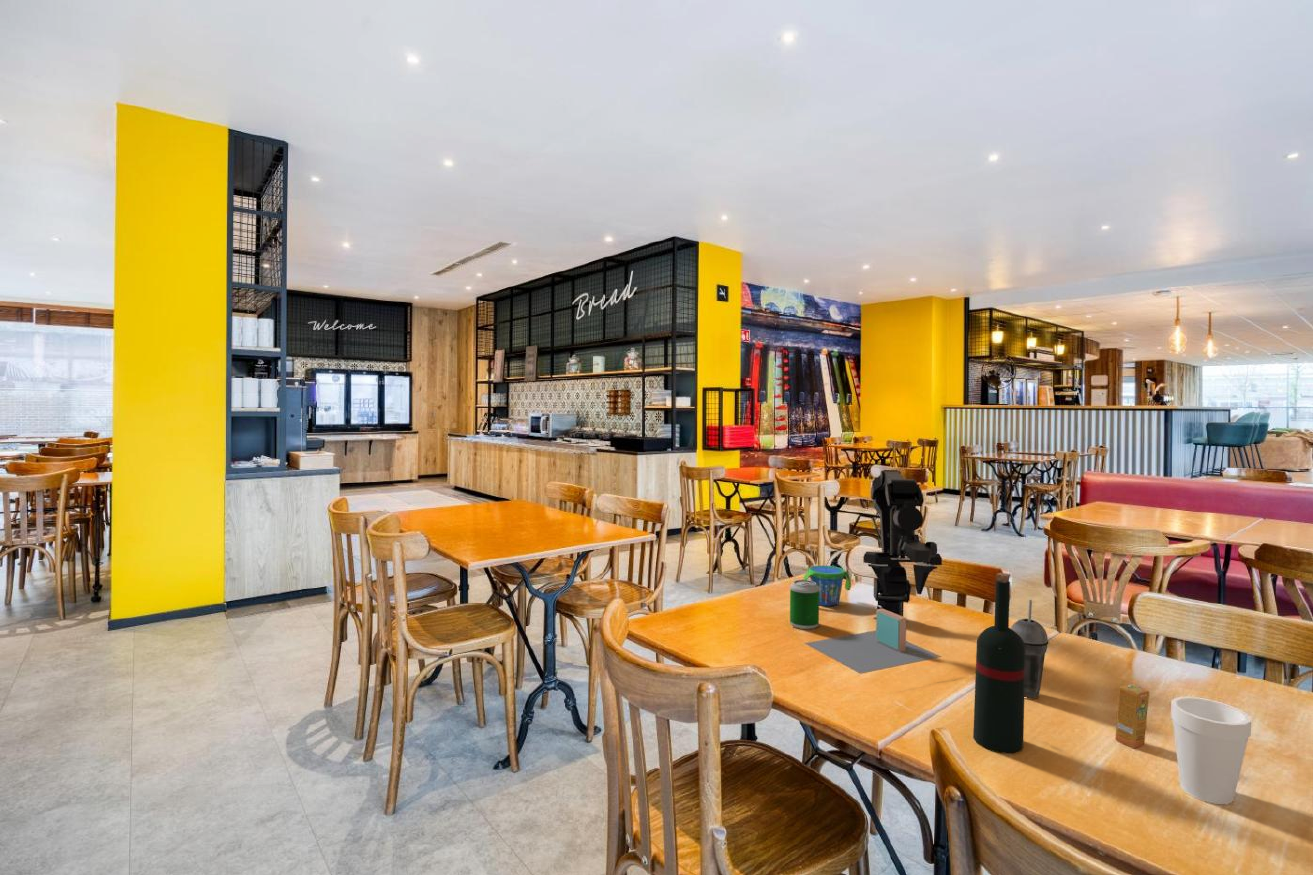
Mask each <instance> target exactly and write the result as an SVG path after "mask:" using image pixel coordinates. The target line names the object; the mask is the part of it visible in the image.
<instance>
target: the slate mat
mask: <svg viewBox="0 0 1313 875" xmlns="http://www.w3.org/2000/svg"><path fill="white" fill-rule="evenodd" d="M804 644H805V645H807V646H808V647H810V648H812V649H814V650H816V651H818V652H820V653H822V654H824V655H825V656H827V657H829V658H830V659H833V660H835V661H836V662H838V663H839V664H841V665H843V666H845V667H847V668H849V669H851V670H853V671H854V672H857V673H858V674H866V673H869V672H875V671H879V670H885V669H889V668H893V667H894V668H895V667H899V666H904V665H907V664H908V665H909V664H914V663H917V662H922V661H928V660H933V659H937V658H941V657H942V655H939V654H937V653H935V652H933V651H930V650H928V649H926V648H923V647H921V646H918V645H916V644H914V643H912V642H909V641H907V640H906V651H903V652H898V651H896V650H894V649H892V648H890V647H888V646H885V645H883V644H881V643H879V642H877V641H876V630H872V631H866V632H865V631H864V632H860V633H855V634H854V633H853V634H848V635H844V636H843V635H842V636H837V637H831V638H826V639H820V640H816V641H815V640H813V641H808V642H805V643H804Z"/></svg>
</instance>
